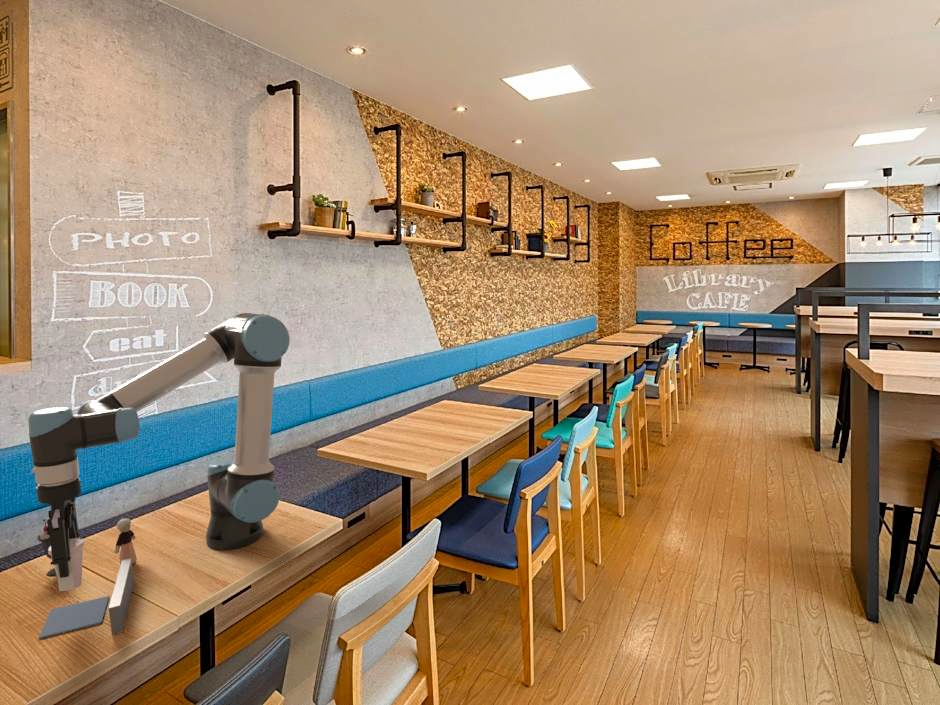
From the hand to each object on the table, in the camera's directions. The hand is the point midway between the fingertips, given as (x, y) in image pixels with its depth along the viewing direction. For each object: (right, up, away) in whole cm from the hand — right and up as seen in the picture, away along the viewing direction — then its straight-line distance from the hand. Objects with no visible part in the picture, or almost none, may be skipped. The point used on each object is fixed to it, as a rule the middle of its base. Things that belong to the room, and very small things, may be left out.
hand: (70, 581), depth 120 cm
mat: (0, -8, +1) cm, 9 cm away
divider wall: (+8, -8, +5) cm, 13 cm away
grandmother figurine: (-2, -6, +24) cm, 24 cm away
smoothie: (0, -1, 0) cm, 1 cm away
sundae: (-18, -6, +21) cm, 29 cm away
